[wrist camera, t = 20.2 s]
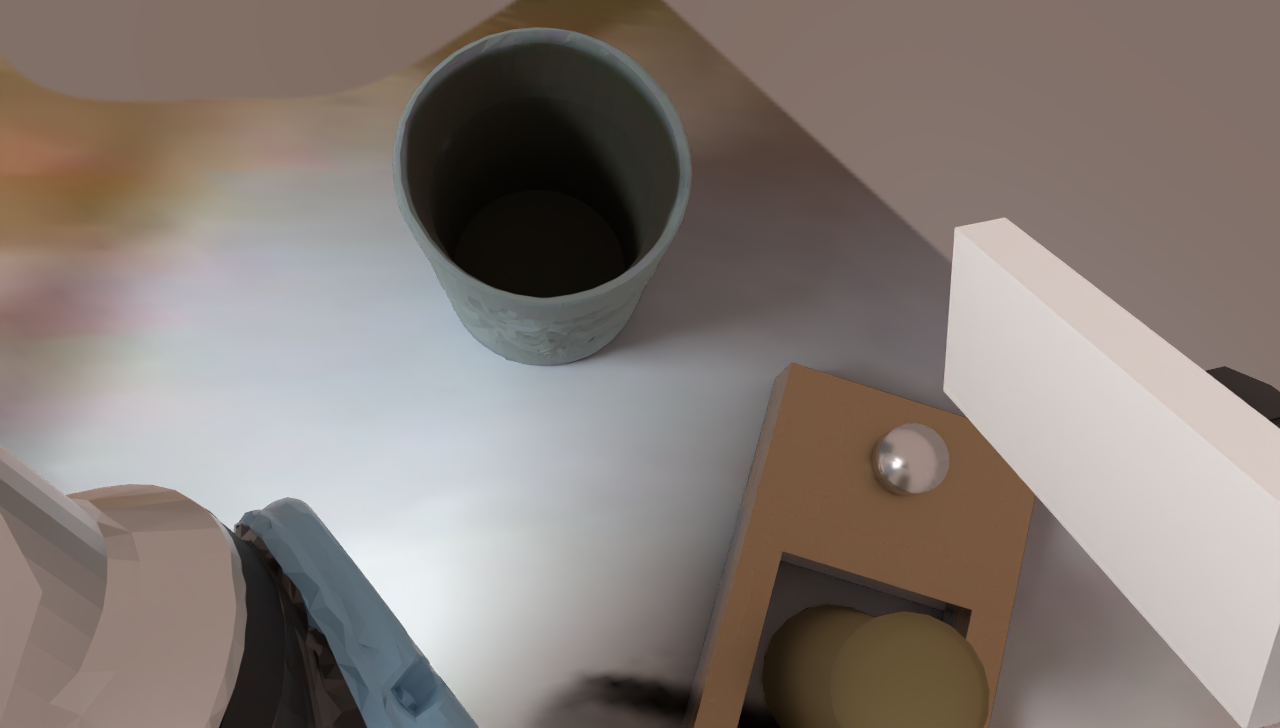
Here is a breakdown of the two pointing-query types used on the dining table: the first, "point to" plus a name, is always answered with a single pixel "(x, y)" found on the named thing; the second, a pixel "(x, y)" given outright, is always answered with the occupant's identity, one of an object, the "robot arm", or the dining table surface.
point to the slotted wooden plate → (865, 523)
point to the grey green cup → (542, 188)
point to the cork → (873, 672)
